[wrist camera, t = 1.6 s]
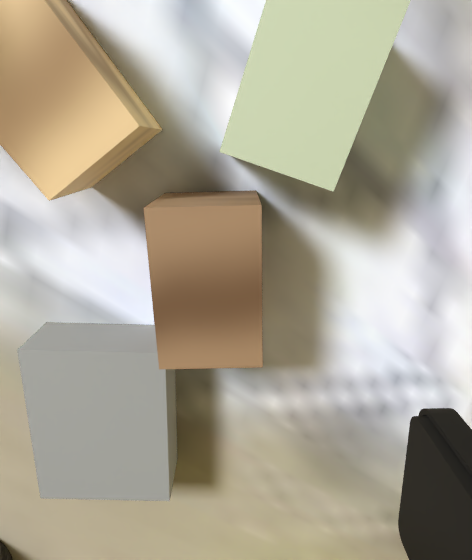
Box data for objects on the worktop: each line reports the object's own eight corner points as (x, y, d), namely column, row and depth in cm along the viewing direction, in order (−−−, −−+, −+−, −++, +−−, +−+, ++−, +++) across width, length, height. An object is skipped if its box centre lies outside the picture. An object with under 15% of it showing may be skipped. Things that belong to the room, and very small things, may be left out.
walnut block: (165, 192, 21) (143, 207, 16) (256, 190, 20) (261, 204, 16) (175, 322, 23) (159, 369, 18) (257, 320, 23) (262, 367, 18)
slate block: (48, 319, 23) (17, 349, 20) (175, 322, 23) (164, 353, 20) (65, 452, 26) (40, 498, 22) (178, 454, 26) (169, 500, 23)
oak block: (-13, 59, 19) (-98, 31, 14) (59, -11, 18) (-6, -65, 13) (92, 186, 20) (49, 200, 16) (163, 129, 20) (139, 125, 15)
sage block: (273, -13, 18) (287, -70, 13) (370, 25, 18) (417, -16, 13) (223, 149, 20) (219, 151, 15) (310, 180, 20) (333, 191, 16)
